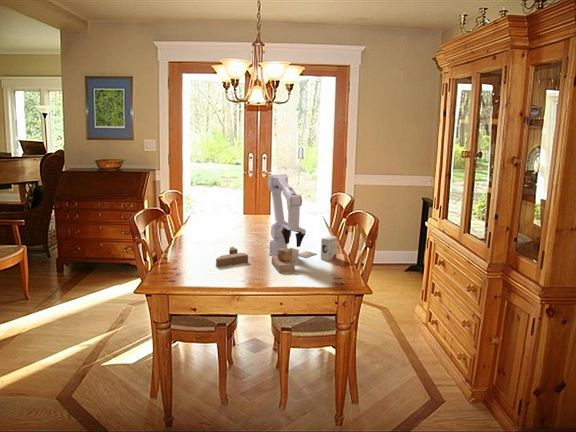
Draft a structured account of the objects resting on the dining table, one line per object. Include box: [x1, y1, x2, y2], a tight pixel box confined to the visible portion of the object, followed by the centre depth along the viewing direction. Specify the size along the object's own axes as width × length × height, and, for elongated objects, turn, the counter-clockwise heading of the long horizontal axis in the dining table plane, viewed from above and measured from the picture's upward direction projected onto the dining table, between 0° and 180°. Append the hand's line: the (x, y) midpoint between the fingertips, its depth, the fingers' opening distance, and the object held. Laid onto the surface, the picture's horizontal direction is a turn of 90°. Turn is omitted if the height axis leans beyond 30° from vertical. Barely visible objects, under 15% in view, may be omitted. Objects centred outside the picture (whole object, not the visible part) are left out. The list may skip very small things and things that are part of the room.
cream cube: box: [288, 247, 300, 262], centre depth 262 cm, size 5×5×5 cm
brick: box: [271, 255, 296, 274], centre depth 247 cm, size 17×8×5 cm, turn 15°
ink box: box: [320, 235, 338, 262], centre depth 263 cm, size 9×5×12 cm, turn 141°
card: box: [298, 251, 317, 259], centre depth 270 cm, size 7×10×1 cm
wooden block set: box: [215, 246, 249, 268], centre depth 255 cm, size 17×6×18 cm
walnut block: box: [278, 247, 292, 261], centre depth 246 cm, size 5×5×5 cm
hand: (292, 245), depth 250 cm, fingers open, 7 cm apart
